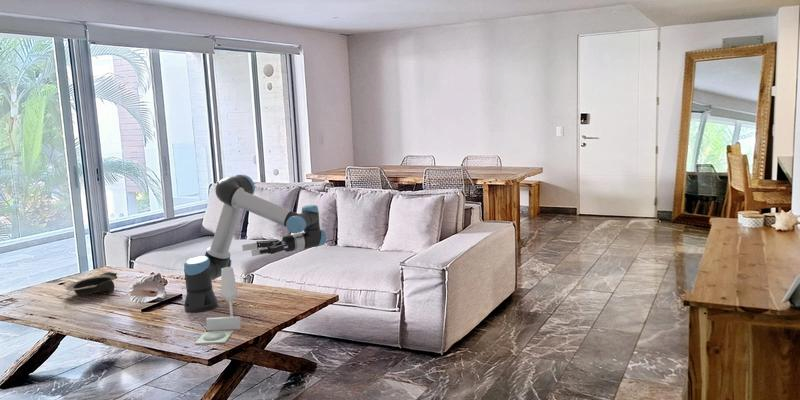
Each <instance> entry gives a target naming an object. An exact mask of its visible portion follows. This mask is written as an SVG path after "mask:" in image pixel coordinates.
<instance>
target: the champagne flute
mask: <svg viewBox="0 0 800 400" xmlns="http://www.w3.org/2000/svg"><path fill="white" fill-rule="evenodd" d="M220 279H221V288H220V289H221V292H220V293H221V296H222V297H223V298H224V299H225V300H227V301H228V306H229V314H230V315H229V317H234V310H233V300H235V299H234V298H236V297H237V295H238V287H237V283H236V278H235V272H234V267H233V266H231V267H225V268H222V269H221V277H220Z"/></svg>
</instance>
